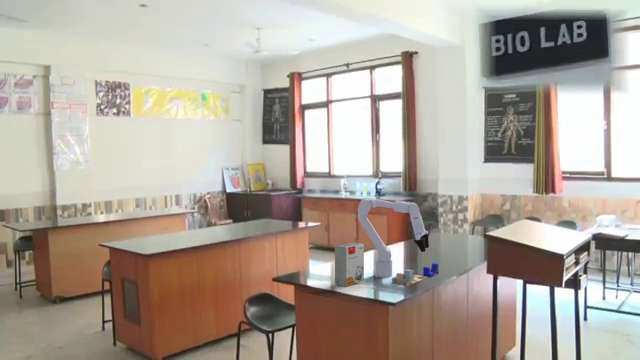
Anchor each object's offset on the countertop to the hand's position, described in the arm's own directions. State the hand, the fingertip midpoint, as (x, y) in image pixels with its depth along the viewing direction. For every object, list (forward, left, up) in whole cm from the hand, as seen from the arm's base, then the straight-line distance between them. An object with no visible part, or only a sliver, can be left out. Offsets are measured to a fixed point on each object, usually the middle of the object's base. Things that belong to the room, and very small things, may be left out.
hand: (425, 249), depth 264 cm
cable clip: (+4, +4, -15) cm, 17 cm away
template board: (-10, -7, -15) cm, 19 cm away
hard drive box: (-41, -7, -15) cm, 44 cm away
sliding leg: (-10, -8, -14) cm, 19 cm away
